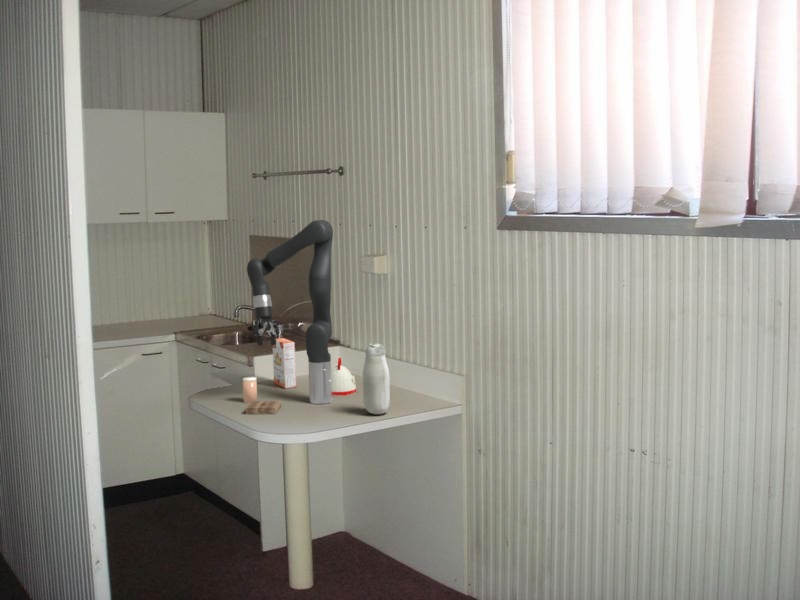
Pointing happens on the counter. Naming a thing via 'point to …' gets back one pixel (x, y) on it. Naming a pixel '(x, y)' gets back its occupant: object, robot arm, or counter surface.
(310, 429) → the counter surface
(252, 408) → the walnut board
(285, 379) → the cracker box
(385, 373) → the glass bottle
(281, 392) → the counter surface
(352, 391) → the kitchen timer
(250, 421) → the counter surface
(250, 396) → the terracotta canister
